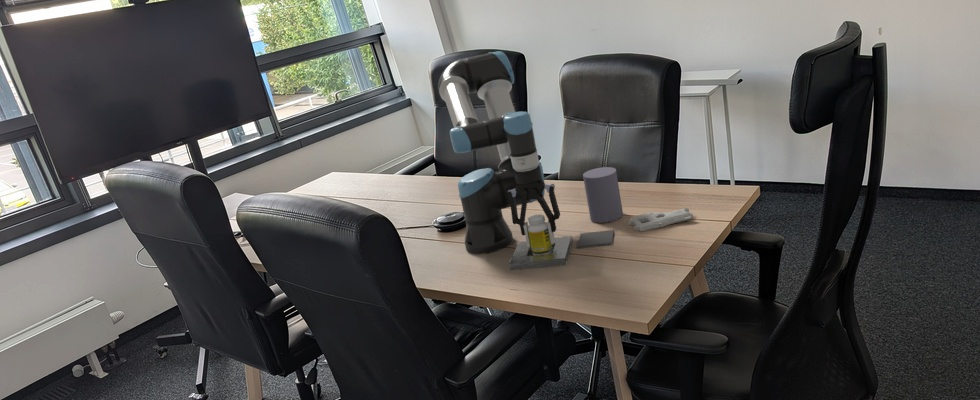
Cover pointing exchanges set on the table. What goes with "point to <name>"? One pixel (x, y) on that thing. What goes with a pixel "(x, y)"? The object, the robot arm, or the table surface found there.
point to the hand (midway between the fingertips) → (541, 243)
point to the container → (603, 194)
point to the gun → (659, 219)
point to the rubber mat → (595, 239)
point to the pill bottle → (539, 235)
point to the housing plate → (558, 256)
